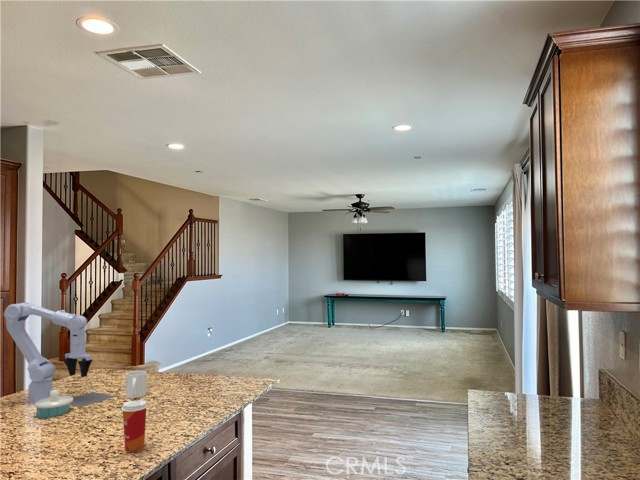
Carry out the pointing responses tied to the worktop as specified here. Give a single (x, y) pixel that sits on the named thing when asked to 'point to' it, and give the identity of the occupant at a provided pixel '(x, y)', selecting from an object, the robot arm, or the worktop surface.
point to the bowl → (52, 411)
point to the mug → (136, 384)
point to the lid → (54, 400)
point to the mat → (89, 399)
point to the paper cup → (134, 424)
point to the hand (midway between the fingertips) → (78, 375)
